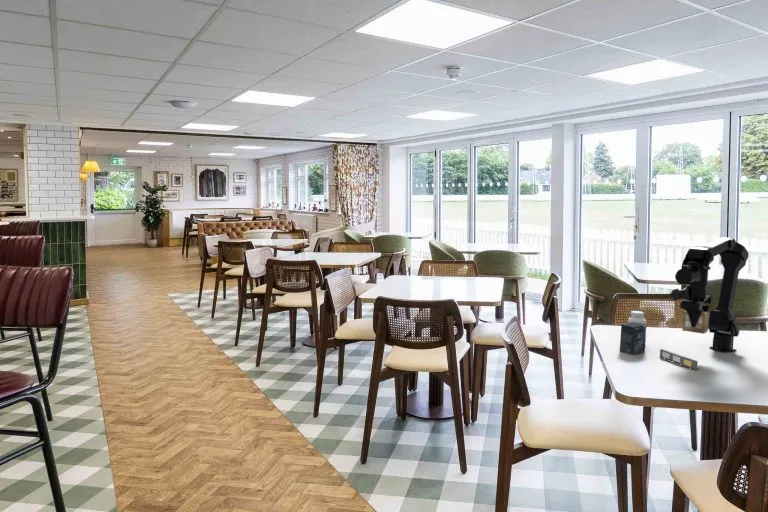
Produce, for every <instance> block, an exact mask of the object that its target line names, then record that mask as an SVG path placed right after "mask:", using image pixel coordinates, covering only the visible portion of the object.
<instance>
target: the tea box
mask: <svg viewBox="0 0 768 512" xmlns="http://www.w3.org/2000/svg"><path fill="white" fill-rule="evenodd" d="M682 315H683V316H682V327H681V328H682V329H681V330H682V331H683V332H688V333H689V332H690V333H696V334H704V335H705V334H706V333H707V332H708V331H709V324H708V321H709V318H710V312H709V311H707V312H705V311H703V312H702V314H701V316H700V318H699V320H698V322H697V324H696V326H695V327H691V323H690V318H689V315H688V312H687V311H686V310H683V313H682Z"/></svg>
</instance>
